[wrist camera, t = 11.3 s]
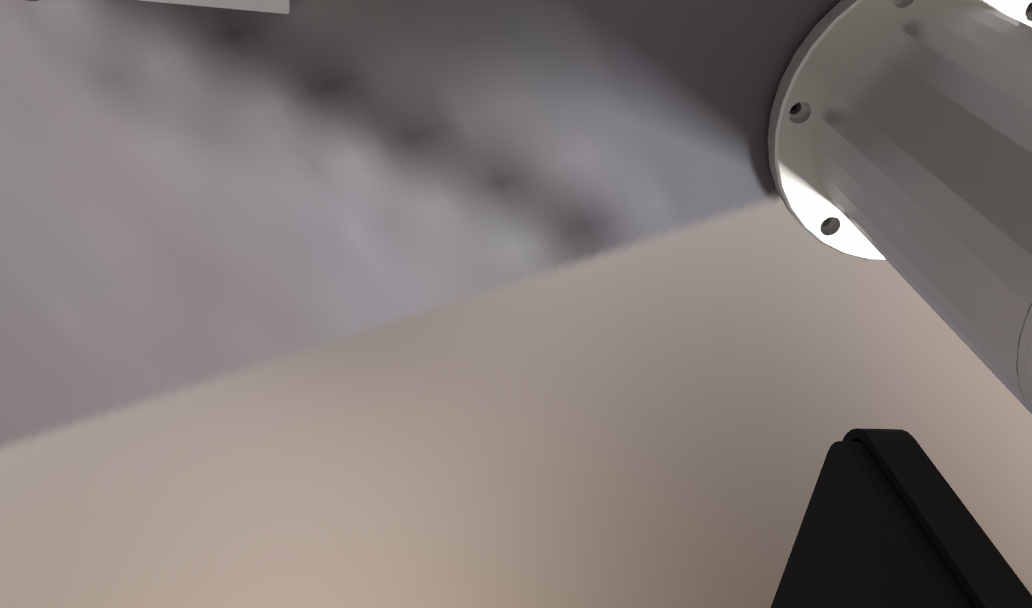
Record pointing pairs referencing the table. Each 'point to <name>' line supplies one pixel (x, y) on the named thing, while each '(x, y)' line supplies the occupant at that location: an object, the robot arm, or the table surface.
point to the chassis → (237, 4)
